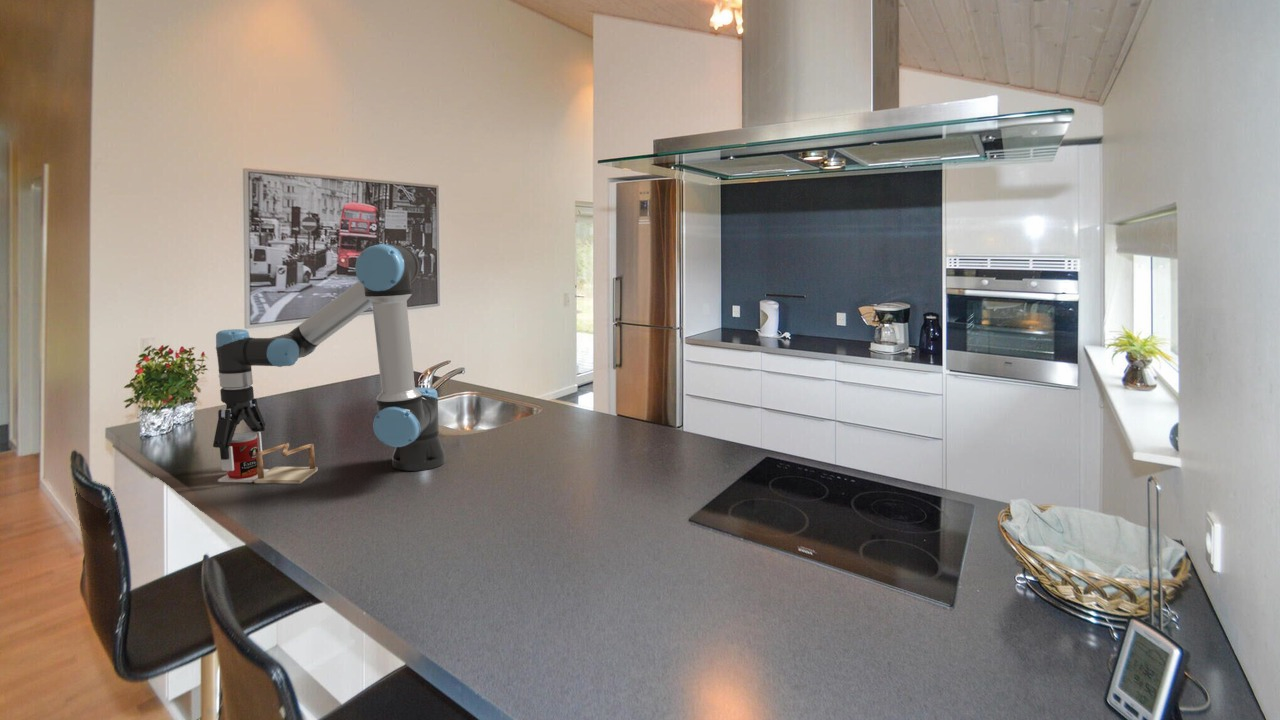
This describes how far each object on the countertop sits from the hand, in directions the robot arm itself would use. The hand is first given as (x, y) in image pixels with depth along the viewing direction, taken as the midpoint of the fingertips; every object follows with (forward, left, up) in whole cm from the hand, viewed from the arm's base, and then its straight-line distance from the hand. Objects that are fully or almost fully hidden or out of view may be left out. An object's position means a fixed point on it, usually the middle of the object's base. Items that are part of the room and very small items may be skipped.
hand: (243, 461), depth 172 cm
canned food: (0, 0, -4) cm, 4 cm away
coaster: (0, 0, -4) cm, 4 cm away
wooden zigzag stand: (-11, -1, -4) cm, 12 cm away
